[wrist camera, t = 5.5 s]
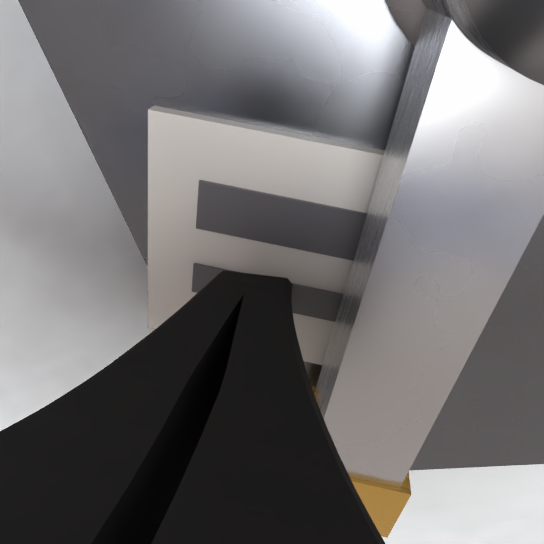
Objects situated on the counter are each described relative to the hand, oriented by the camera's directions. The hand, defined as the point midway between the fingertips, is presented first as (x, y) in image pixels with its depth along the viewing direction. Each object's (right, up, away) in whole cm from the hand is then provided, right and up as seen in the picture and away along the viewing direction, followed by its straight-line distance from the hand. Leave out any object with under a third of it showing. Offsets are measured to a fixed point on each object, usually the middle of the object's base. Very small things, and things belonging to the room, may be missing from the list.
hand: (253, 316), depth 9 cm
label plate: (+1, +2, +1) cm, 2 cm away
